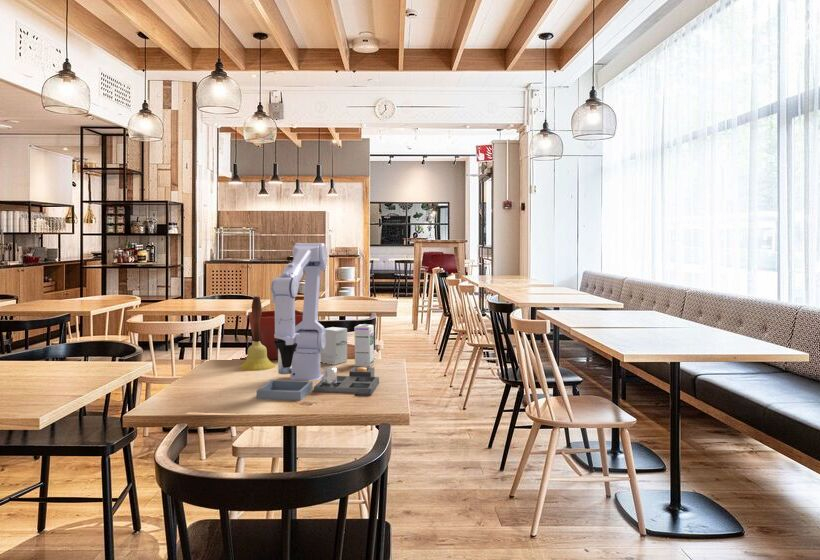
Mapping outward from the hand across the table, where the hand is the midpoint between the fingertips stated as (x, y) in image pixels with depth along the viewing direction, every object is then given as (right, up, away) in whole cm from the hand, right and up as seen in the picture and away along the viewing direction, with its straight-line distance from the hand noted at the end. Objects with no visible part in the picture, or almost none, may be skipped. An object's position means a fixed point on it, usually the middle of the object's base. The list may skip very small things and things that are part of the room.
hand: (285, 365), depth 175 cm
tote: (0, -9, +1) cm, 9 cm away
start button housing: (+20, -7, +22) cm, 31 cm away
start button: (+20, -7, +22) cm, 31 cm away
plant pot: (-15, -5, +58) cm, 60 cm away
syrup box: (+20, -6, +44) cm, 48 cm away
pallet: (+17, -8, +10) cm, 21 cm away
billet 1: (0, -2, 0) cm, 2 cm away
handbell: (-18, -6, +40) cm, 44 cm away
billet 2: (+12, -9, +6) cm, 16 cm away
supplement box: (+8, -6, +48) cm, 49 cm away
